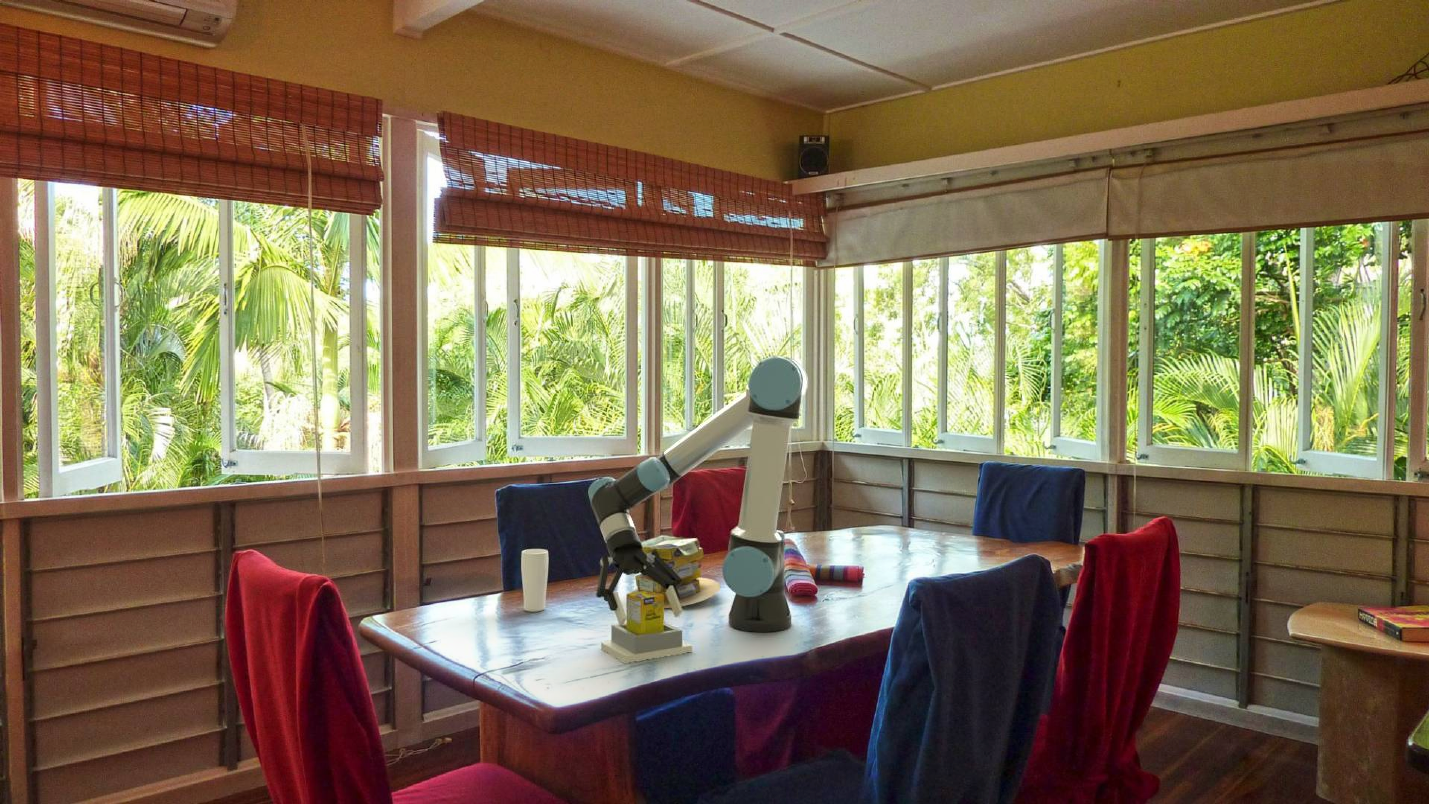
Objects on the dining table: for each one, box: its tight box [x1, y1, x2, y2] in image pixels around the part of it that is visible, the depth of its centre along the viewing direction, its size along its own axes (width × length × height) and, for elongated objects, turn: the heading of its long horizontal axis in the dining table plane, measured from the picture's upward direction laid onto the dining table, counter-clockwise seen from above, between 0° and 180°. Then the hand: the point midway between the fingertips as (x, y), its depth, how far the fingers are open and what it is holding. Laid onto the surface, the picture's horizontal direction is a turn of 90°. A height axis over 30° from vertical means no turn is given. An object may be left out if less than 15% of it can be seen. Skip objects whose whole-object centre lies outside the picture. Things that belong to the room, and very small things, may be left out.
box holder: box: [600, 621, 693, 664], centre depth 208 cm, size 16×12×5 cm
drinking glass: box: [520, 548, 549, 613], centre depth 242 cm, size 7×7×15 cm
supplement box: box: [626, 590, 665, 636], centre depth 207 cm, size 6×6×11 cm
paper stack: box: [630, 535, 721, 609], centre depth 256 cm, size 25×25×17 cm
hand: (651, 618), depth 205 cm, fingers open, 13 cm apart
